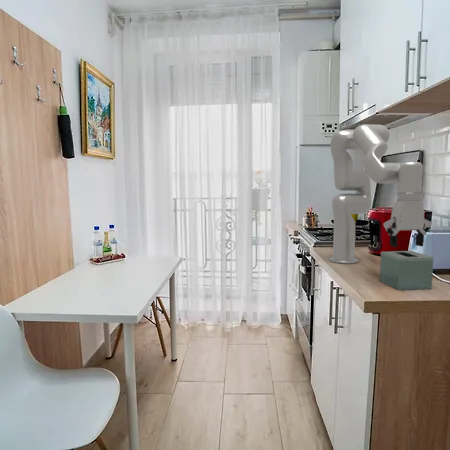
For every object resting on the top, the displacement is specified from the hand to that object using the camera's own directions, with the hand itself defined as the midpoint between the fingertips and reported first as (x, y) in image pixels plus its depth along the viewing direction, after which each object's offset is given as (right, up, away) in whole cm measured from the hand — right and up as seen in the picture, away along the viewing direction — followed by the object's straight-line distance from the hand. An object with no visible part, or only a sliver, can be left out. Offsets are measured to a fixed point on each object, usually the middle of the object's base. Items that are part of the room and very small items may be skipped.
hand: (406, 246), depth 124 cm
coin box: (0, -14, +2) cm, 14 cm away
